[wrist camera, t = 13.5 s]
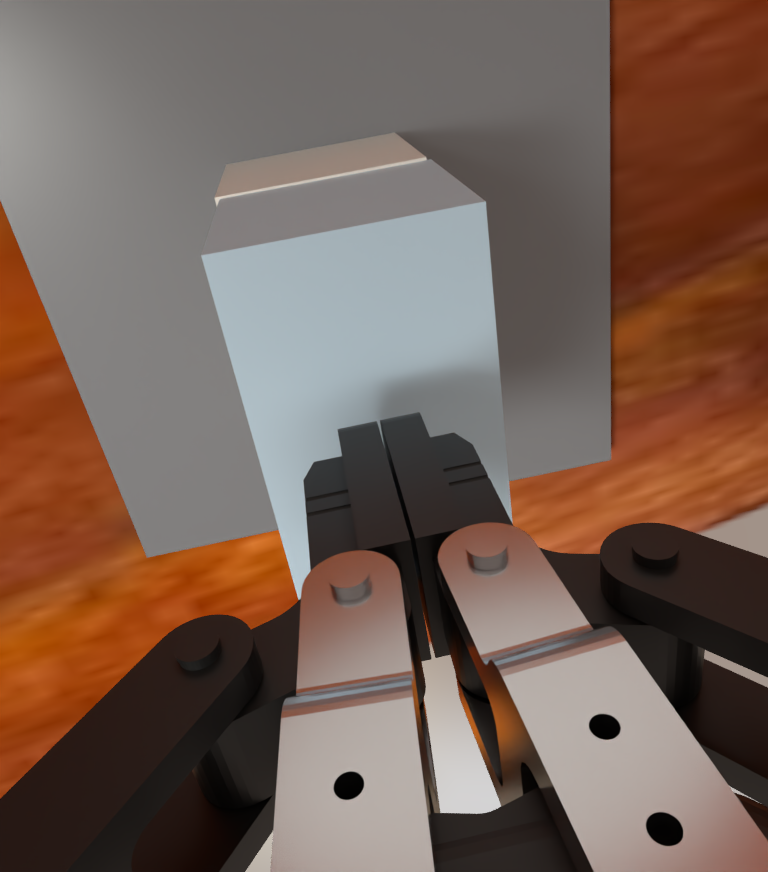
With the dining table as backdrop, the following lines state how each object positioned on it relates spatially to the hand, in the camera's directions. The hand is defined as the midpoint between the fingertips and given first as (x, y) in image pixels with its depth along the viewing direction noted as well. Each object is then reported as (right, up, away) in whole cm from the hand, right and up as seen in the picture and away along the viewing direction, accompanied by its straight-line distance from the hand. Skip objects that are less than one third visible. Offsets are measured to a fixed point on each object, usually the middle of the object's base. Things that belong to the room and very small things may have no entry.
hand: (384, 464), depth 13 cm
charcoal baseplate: (-2, +6, +11) cm, 13 cm away
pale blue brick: (-1, +3, +6) cm, 7 cm away
